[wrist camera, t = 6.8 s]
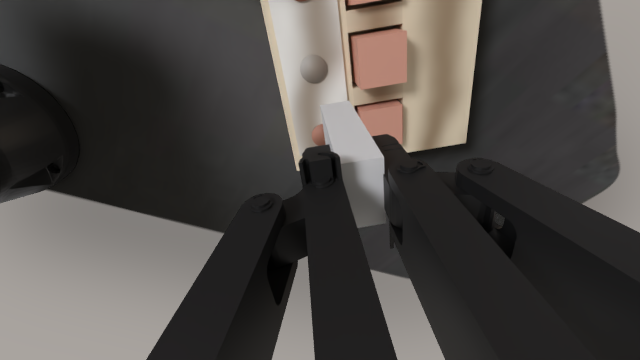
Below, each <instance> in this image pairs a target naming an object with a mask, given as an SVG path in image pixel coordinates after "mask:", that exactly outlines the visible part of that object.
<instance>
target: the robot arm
mask: <svg viewBox="0 0 640 360" xmlns="http://www.w3.org/2000/svg"><path fill="white" fill-rule="evenodd" d="M320 108H321V115H322V122H323V130H324V137H325V144H326V145H321V146H315V147H309V148H306V149H305V151H304V152H303V153H302V158H301V159H300V160H299V163H298V164H299V169H300V174H301V179H302V184H303V189H302V190H301V191H300V192H299V193H298V194H296V195H295V196H293V197H291V198H289V199H286V200H282V198H281V197H280V196H279V195H276V194H272V193H265V194H259V195H256V196H253V197H252V198H250V199H248V200H247V201H245V203H244V204H243V205H242V206H241V208H240V209H239V211H238V212H237V214H236V216H235V217H234V219H233V220H232V222H231V224H230V225H229V227H228V229H227V230H226V232H225V233H224V235H223V237H222V238H221V240H220V241H219V243H218V245H217V246H216V248H215V250H214V251H213V253H212V254H211V256H210V258H209V259H208V261H207V263H206V264H205V266H204V267H203V269H202V271H201V272H200V274H199V275H198V277H197V279H196V280H195V282H194V283H193V285H192V287H191V289H190V290H189V292H188V293H187V295H186V296H185V298H184V300H183V301H182V303H181V304H180V306H179V308H178V309H177V311H176V312H175V314H174V316H173V317H172V319H171V321H170V322H169V324H168V325H167V327H166V329H165V330H164V332H163V334H162V335H161V337H160V338H159V340H158V342H157V343H156V345H155V347H154V348H153V350H152V351H151V353H150V354H149V356H148V358H147V359H146V360H272V356H273V352H274V349H275V345H276V342H277V338H278V334H279V331H280V327H281V323H282V320H283V316H284V313H285V309H286V306H287V302H288V298H289V295H290V291H291V287H292V284H293V280H294V277H295V273H296V269H297V265H298V260H299V259H301V258H304V257H306V256H308V267H309V281H310V296H311V309H312V324H313V338H314V352H315V360H397V357H396V353H395V350H394V347H393V344H392V340H391V337H390V334H389V331H388V327H387V324H386V321H385V317H384V314H383V311H382V308H381V304H380V301H379V298H378V294H377V291H376V288H375V284H374V281H373V278H372V274H371V272H370V268H369V265H368V261H367V258H366V255H365V251H364V248H363V245H362V242H361V238H360V235H359V232H358V228H360V227H366V226H373V225H379V224H385V223H386V213H387V215H388V218H389V226H390V249H391V248H394V243H395V245H396V247H397V249H398V252H399V254H400V256H401V259H402V261H403V263H404V266H405V268H406V270H407V272H408V275H409V277H410V279H411V281H412V284H413V286H414V289H415V291H416V293H417V295H418V298H419V300H420V302H421V305H422V307H423V309H424V311H425V314H426V316H427V319H428V321H429V323H430V325H431V328H432V330H433V332H434V334H435V337H436V339H437V342H438V344H439V346H440V348H441V351H442V353H443V355H444V358H445V360H640V233H639V232H637V231H635V230H633V229H631V228H629V227H627V226H625V225H623V224H621V223H619V222H617V221H615V220H613V219H611V218H609V217H607V216H604V215H603V214H601V213H599V212H596V211H595V210H593V209H590V208H588V207H587V206H585V205H583V204H581V203H579V202H576V201H574V200H572V199H570V198H568V197H566V196H564V195H562V194H560V193H558V192H556V191H554V190H552V189H550V188H548V187H546V186H544V185H542V184H540V183H538V182H536V181H534V180H532V179H530V178H528V177H526V176H524V175H522V174H520V173H518V172H516V171H514V170H512V169H510V168H508V167H506V166H504V165H502V164H500V163H497V162H495V161H492V160H488V159H483V158H471V159H466V160H463V161H461V162H459V163H458V165H457V167H456V173H452V172H434V171H433V169H432V168H431V167H430V166H429V165H428V164H427V163H425V162H424V161H421V160H417V159H412V158H411V157H410V156H409V154H408V153H407V152H406V151H405V149H404V148H403V147H402V146H401V144H399V142H398V141H397V139H396V138H395V137H393V136H390V135H388V134H383V135H377V136H371V135H370V133H369V132H368V130H367V129H366V127H365V125H364V124H363V122H362V121H361V119H360V117H359V116H358V114H357V112H356V111H355V109H354V108H353V106H352V104H351V103H350V101H343V102H337V103H331V104H325V105H320ZM78 155H79V143H78V138H77V134H76V131H75V129H74V127H73V124H72V122H71V121H70V119H69V117H68V116H67V114H66V113H65V111H64V110H63V109H62V107H61V106H60V105H59V104H58V103H57V102H56V100H55V99H54V98H53V97H52V96H51V95H50V94H48V93H47V92H46V91H45V90H44V89H43V88H41V87H40V86H39V85H37V84H36V83H35V82H33V81H32V80H30V79H29V78H27V77H25V76H24V75H22V74H20V73H18V72H16V71H14V70H12V69H10V68H8V67H5V66H3V65H0V203H3V202H6V201H10V200H13V199H17V198H20V197H24V196H27V195H30V194H34V193H37V192H41V191H43V190H46V189H48V188H50V187H52V186H53V185H55V184H56V183H58V182H59V181H60V180H62V179H63V178H65V177H66V176H67V175H68V174H69V173H70V172H71V171H72V170H73V168H74V167H75V165H76V163H77V160H78ZM496 212H497V213H499V214H500V215H502V216H503V217H505V221H504V225H503V226H500V225H498V224H497V223H495V222H494V221H495V217H496Z"/></svg>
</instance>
